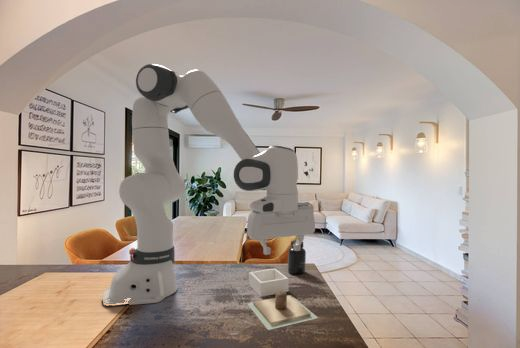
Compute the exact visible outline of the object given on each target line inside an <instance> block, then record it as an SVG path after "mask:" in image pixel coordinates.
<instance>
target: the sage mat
mask: <svg viewBox="0 0 520 348" xmlns="http://www.w3.org/2000/svg"><path fill="white" fill-rule="evenodd" d="M289 295H290V296H291V297H292V298H293V299H294V300H295V301H297V302H298V303H299V304H300V305H301V306H302V307H304V308H305V309H306V310H307V311H308V312H310V313H311V316H310V317H306V318H301V319H297V320H293V321H289V322H284V323H280V324H276V325H272V326H271V325H270V324H269V323H268V322H267V320H266V319H265V318H264V317H263V316H262V314H261V313H260V312H259V311H258V310H257V308H256V307H255V306H254V305H253V302H254V301H252V302H246V304H247V306H248V307H249V309H251V310H252V312H253V313H254V314H255V316H256V317H257V318H258V319H259V321H260V322H261V323H262V325H263V326H264V327H265V328H266V330H268V331H270V330H275V329H278V328H283V327H288V326H291V325H295V324H299V323H304V322H308V321H313V320H316V319H319V317H318V316H317V315H316V314H315V313H313V312H312V311H311V310H309V308H307V307H306V306H305V305H304V304H302V303H301V302H300V301H299V300H298V299H297V298H295V296H293V295H292V294H289Z"/></svg>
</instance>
